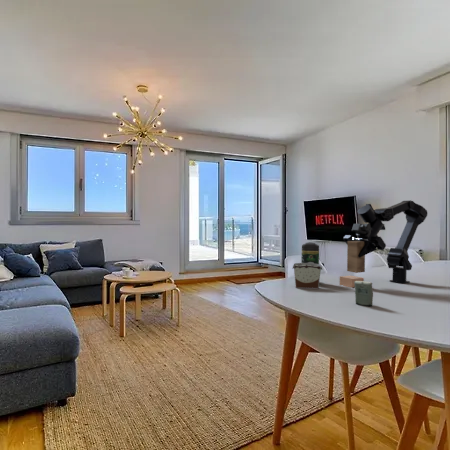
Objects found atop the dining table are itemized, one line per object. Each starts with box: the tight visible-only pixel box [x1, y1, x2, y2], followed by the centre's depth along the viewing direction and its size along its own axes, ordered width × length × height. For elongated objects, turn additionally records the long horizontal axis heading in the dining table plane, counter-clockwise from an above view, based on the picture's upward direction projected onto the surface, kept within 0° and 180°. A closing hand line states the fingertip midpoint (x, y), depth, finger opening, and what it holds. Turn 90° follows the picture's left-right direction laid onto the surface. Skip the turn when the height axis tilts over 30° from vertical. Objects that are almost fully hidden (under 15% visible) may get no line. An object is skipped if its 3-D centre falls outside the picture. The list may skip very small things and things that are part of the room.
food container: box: [291, 262, 323, 290], centre depth 142 cm, size 12×6×10 cm, turn 84°
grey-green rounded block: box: [354, 280, 374, 307], centre depth 111 cm, size 6×5×8 cm
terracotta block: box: [339, 275, 365, 289], centre depth 146 cm, size 7×7×4 cm
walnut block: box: [346, 241, 366, 274], centre depth 143 cm, size 5×5×13 cm
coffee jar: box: [300, 242, 320, 264], centre depth 152 cm, size 10×8×19 cm
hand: (353, 256), depth 143 cm, fingers closed on walnut block, 5 cm apart
